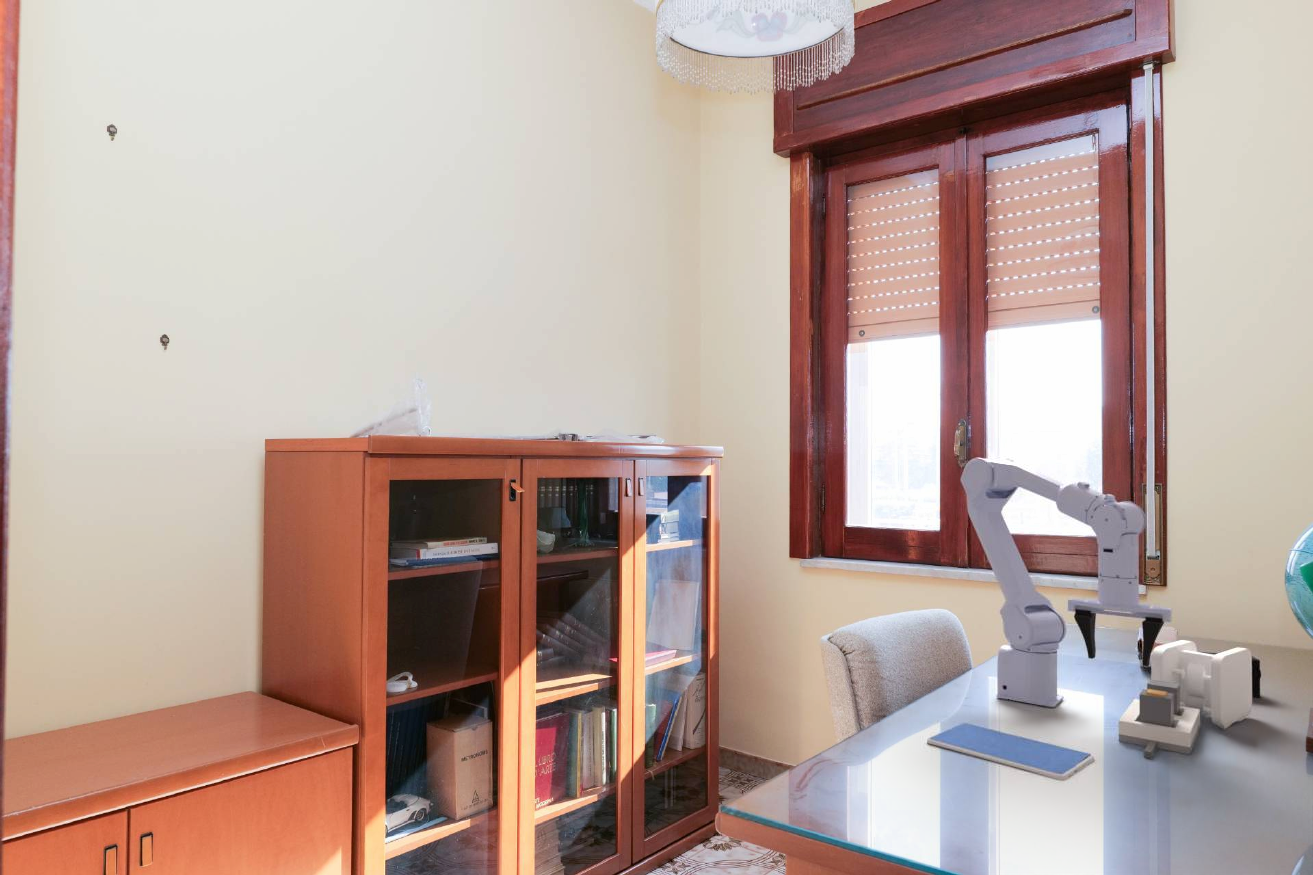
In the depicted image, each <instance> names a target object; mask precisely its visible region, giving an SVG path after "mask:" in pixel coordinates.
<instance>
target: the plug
mask: <svg viewBox="0 0 1313 875" xmlns="http://www.w3.org/2000/svg"><path fill="white" fill-rule="evenodd" d="M1138 695H1139V700H1140V722H1143V723H1149V724H1155V725H1160V726H1166V727H1172V728H1174V694H1172V693H1167V692H1165V691H1158V690H1152V689H1148V690H1147V689H1146V688H1142V690H1141V692H1140V693H1139V694H1138Z"/></svg>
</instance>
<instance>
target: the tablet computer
mask: <svg viewBox="0 0 1313 875" xmlns="http://www.w3.org/2000/svg"><path fill="white" fill-rule="evenodd" d="M926 743H927V744H930V745H931V746H932V745H933V746H936V747H939V748H944V749H947V750H951V751H954V752H957V753H962V754H965V755H968V756H972V757H976V758H980V759H982V760H988V761H991V762H993V763H997V764H1001V765H1006V766H1009V767H1013V768H1015V769H1020V770H1024V771H1027V772H1030V773H1034V774H1037V775H1040V776H1043V777H1048V778H1050V779H1055V780H1058V781H1059V780H1060V781H1065V780H1067V779H1069V778H1070V777H1071V776H1074V774H1076V773H1078V772H1079V771H1080V770H1083V769H1084V768H1085V767H1087V766H1088V765H1090V764H1091V763H1093V762H1094V761H1095V756H1094V755H1093V754H1091V753H1088V752H1086V751H1080V750H1076V749H1073V748H1067V747H1064V746H1060V745H1056V744H1051V743H1049V742H1048V743H1047V742H1043V741H1039V740H1036V739H1032V738H1028V737H1023V736H1018V735H1015V734H1011V733H1006V732H1003V731H999V730H995V729H992V728H987V727H984V726H981V725H980V726H979V725H975V724H972V723H967V722H962V723H960V724H957V725H955V726H953V727H950V728H949V729H946V730H944V731H942V732H939V733H938V734H935V735H933V736H930V737H928V738H927V739H926Z"/></svg>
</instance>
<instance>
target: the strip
mask: <svg viewBox="0 0 1313 875" xmlns="http://www.w3.org/2000/svg"><path fill="white" fill-rule="evenodd" d="M1146 684H1147V686H1146V688H1147V689H1146V690H1148V689H1152V690H1158V691H1165V692H1167V693H1172V694H1174V728H1172V727H1166V726H1160V725H1155V724H1149V723H1143V722H1140V698H1139V699H1138V698H1134V699H1133V701H1132V702H1131V703H1130V704H1129V706H1128V707H1127V709H1126V710H1125V711H1124V713H1123V714H1122V716H1121V717H1120V718H1119V720H1118V741H1119V742H1123V743H1128V744H1133V745H1138V746H1139V745H1140V746H1144V747H1145V749H1144V751H1143V758H1145V759H1150V760H1152V759H1153V758H1154V755H1155V753H1156V751H1157V749H1160V750H1165V751H1170V752H1176V753H1181V754H1186V755H1191V753H1192V750H1193V748H1194V745H1195V742H1196V740H1197V737H1198V734H1199V732H1200V730H1201V709H1197V708H1193V707H1183V706H1180V683H1173V682H1167V681H1160V680H1153V679H1150V680H1149V681H1148V682H1147V683H1146Z"/></svg>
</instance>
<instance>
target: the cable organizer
mask: <svg viewBox="0 0 1313 875" xmlns="http://www.w3.org/2000/svg"><path fill="white" fill-rule="evenodd" d="M1200 652H1201V651H1198V647H1197V645H1196V643H1195V642H1194V641H1191V640H1185V639H1180V640H1176V641H1173V642H1168V643H1165V644H1160V645H1158V646H1155V647H1154V648H1153V649H1152V652H1151V656H1150V662H1151V664H1150V665H1151V669H1150V672H1151V679H1153V680H1160V681H1167V682H1173V683H1180V706H1183V707H1189V708H1195V709H1200V710H1202V711H1203V713H1202V715H1203V716H1204V715H1205V716H1204V717H1206V713H1207V714H1210V718H1211V722H1212V723H1213V724H1214V725H1217V726H1219V728H1221V729H1227V728H1228V727H1230V726H1231V725H1232V724H1234V723H1236V722H1237V723H1238V722H1241V721H1243V720H1246V717H1248V716H1250V714H1251V712H1252V707H1253V697H1252V657H1253V656H1252V652H1251V651H1250V649H1249V648H1246V647H1235V648H1231V649H1228V650H1225V651H1222V652H1217V653H1218V654H1215V655H1212V654H1206V653H1200Z"/></svg>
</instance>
